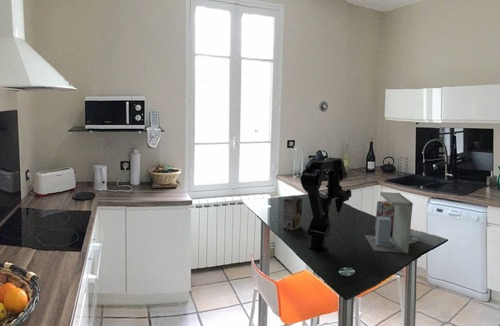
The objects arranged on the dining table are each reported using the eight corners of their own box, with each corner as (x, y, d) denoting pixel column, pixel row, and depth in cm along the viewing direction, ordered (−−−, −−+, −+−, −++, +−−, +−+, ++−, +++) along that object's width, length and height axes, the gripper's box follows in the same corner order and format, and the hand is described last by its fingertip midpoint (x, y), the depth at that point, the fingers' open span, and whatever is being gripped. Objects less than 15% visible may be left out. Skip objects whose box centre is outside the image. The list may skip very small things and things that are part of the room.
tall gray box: (377, 244, 176) (379, 219, 174) (375, 240, 181) (377, 216, 179) (389, 245, 176) (391, 220, 174) (386, 241, 181) (388, 216, 179)
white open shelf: (374, 251, 169) (378, 201, 166) (365, 236, 189) (368, 191, 185) (408, 253, 168) (412, 203, 164) (395, 237, 188) (399, 192, 184)
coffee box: (291, 224, 205) (292, 196, 203) (301, 226, 201) (302, 198, 199) (282, 228, 198) (283, 199, 196) (292, 231, 194) (293, 201, 192)
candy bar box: (380, 233, 193) (382, 203, 191) (374, 230, 198) (376, 201, 196) (397, 232, 197) (400, 202, 194) (391, 229, 201) (394, 199, 199)
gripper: (335, 189, 166) (334, 222, 169) (359, 183, 178) (357, 214, 181) (316, 185, 175) (315, 217, 177) (339, 179, 187) (338, 209, 189)
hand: (332, 214), depth 181 cm, fingers open, 9 cm apart
